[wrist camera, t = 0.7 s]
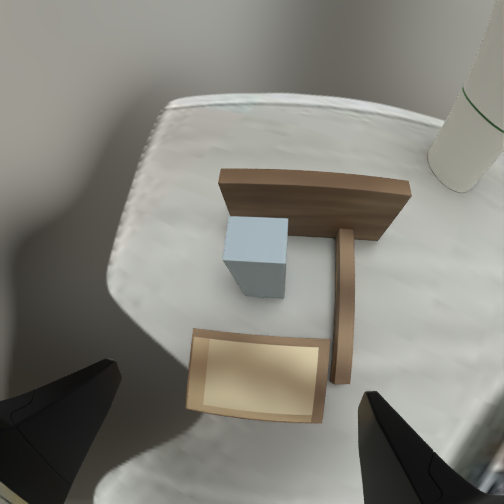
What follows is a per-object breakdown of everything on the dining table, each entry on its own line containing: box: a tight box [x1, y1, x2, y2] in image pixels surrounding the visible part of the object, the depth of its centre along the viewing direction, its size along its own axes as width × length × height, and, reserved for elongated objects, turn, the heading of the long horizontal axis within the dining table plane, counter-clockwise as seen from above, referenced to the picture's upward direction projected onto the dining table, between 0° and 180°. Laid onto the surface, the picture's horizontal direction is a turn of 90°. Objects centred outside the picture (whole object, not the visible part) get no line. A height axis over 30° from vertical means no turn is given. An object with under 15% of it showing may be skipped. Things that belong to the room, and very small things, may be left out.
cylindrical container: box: [428, 0, 504, 193], centre depth 14 cm, size 7×7×25 cm
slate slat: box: [223, 216, 288, 298], centre depth 19 cm, size 2×3×10 cm
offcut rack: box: [185, 169, 412, 423], centre depth 18 cm, size 17×16×8 cm
